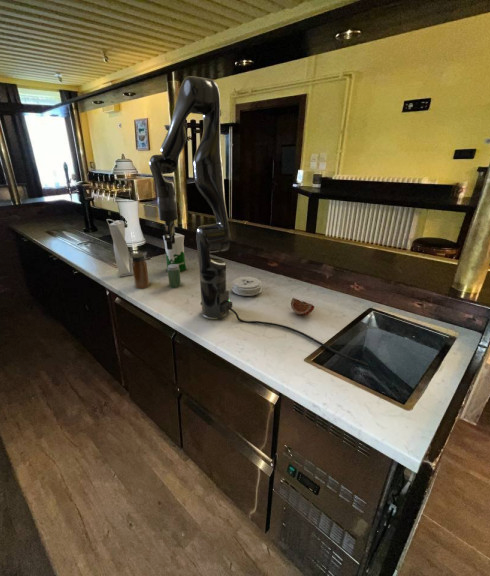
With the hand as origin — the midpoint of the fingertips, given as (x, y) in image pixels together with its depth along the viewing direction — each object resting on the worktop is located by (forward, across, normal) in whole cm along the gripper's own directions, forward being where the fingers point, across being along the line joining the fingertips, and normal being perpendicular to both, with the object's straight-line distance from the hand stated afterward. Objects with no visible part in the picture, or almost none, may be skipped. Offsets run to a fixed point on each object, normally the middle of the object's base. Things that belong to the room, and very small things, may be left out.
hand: (171, 246), depth 129 cm
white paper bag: (+19, +16, +28) cm, 37 cm away
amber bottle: (+18, +1, +15) cm, 24 cm away
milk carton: (+19, +19, +1) cm, 27 cm away
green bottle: (+18, 0, 0) cm, 19 cm away
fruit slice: (+18, -28, -50) cm, 60 cm away
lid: (+19, -8, -32) cm, 38 cm away
